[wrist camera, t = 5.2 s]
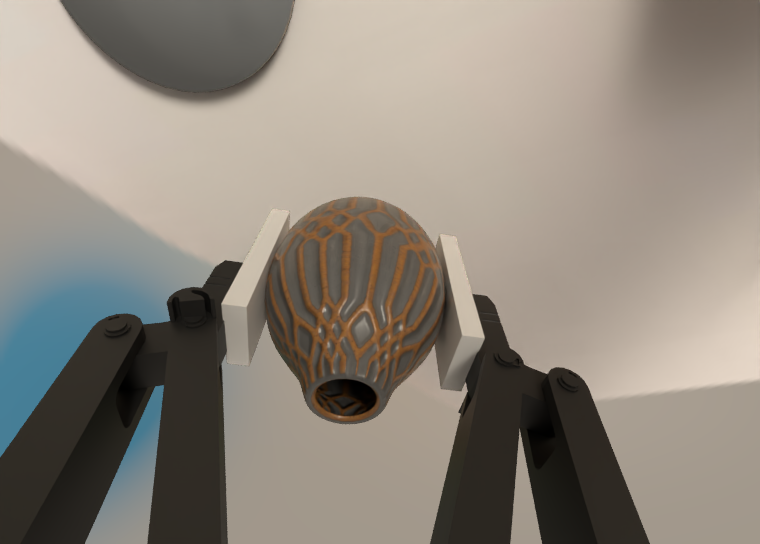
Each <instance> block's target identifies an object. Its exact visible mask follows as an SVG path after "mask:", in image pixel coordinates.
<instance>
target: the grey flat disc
mask: <svg viewBox="0 0 760 544" xmlns="http://www.w3.org/2000/svg"><path fill="white" fill-rule="evenodd" d="M61 2H62V4H63V5H64V7H65V8H66V10H67V11H68V12H69V14H70V15H71V16H72V18H73V19H74V20H75V21H76V23H77V24H78V25H79V26H80V28H81V29H82V30H83V31H84V32H85V33H86V34H87V35H88V36H89V38H90V39H91V40H92V41H93V42H94V43H95V44H96V45H98V46H99V47H100V48H101V49H102V50H103V51H104V52H105V53H106V54H107V55H109V56H110V57H111V58H113V59H114V60H115V61H116V62H118V63H119V64H120V65H122V66H123V67H125V68H126V69H128V70H130V71H131V72H133V73H134V74H136V75H138V76H140V77H142V78H144V79H146V80H148V81H150V82H153V83H155V84H158V85H161V86H163V87H166V88H171V89H175V90H179V91H186V92H211V91H217V90H222V89H225V88H228V87H231V86H233V85H236V84H238V83H240V82H241V81H243V80H245V79H247V78H249V77H250V76H252V75H253V74H254V73H256V72H257V71H258V70H260V69H261V68H262V67H263V66H264V65H265V64H266V63H267V62H268V60H269V59H270V58H271V57H272V56H273V54H274V53H275V51H276V50H277V48H278V47H279V45H280V43H281V41H282V39H283V37H284V35H285V33H286V31H287V28H288V25H289V22H290V19H291V16H292V11H293V7H294V2H295V0H61Z"/></svg>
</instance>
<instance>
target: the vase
mask: <svg viewBox="0 0 760 544" xmlns="http://www.w3.org/2000/svg"><path fill="white" fill-rule="evenodd" d="M444 308H445V282H444V276H443V271H442V267H441V263H440V260H439V257H438V255H437V252H436V249H435V247H434V245H433V243H432V242H431V240H430V238H429V237H428V235H427V234H426V232H425V231H424V230H423V229H422V227H421V226H420V225H419V224H418V223H417V222H416V221H415V220H414V219H413V218H412V217H411V216H409V215H408V214H407V213H406V212H404V211H403V210H401V209H399V208H398V207H396V206H394V205H392V204H389V203H387V202H384V201H381V200H378V199H373V198H367V197H348V198H342V199H337V200H333V201H330V202H328V203H325V204H323V205H321V206H319V207H317V208H315V209H314V210H312V211H310V212H309V213H307V214H306V215H305V216H303V217H302V218H301V219H300V220H299V221H298V222H297V223H296V224H295V225H294V226H293V227H292V228H291V229H290V230H289V232H288V233H287V234H286V236H285V237H284V239H283V241H282V242H281V244H280V245H279V247H278V249H277V251H276V253H275V255H274V258H273V260H272V263H271V266H270V269H269V272H268V277H267V282H266V290H265V309H266V318H267V324H268V328H269V332H270V335H271V338H272V340H273V343H274V344H275V347H276V349H277V350H278V352H279V354H280V355H281V357H282V358H283V360H284V361H285V363H286V364H287V366H288V367H289V368H290V370H291V371H292V372H293V374H294V375H295V376H296V377H297V379H298V380H299V382H300V384H301V388H302V391H303V395H304V398H305V401H306V403H307V406H308V407H309V408H310V410H311V411H312V412H313V413H315V414H316V415H317V416H319V417H321V418H323V419H325V420H328V421H331V422H335V423H339V424H357V423H362V422H366V421H369V420H371V419H373V418H375V417H376V416H378V415H379V414H380V413H381V412H382V411H383V410H384V408H385V407H386V405H387V403H388V401H389V399H390V397H391V395H392V393H393V391H394V390H395V389H396V388H397V387H398V386H399V385H400V384H401V383H402V382H403V381H404V380H406V379H407V378H408V377H409V376H410V375H411V374H412V373H413V372H414V371H415V370H416V369H417V368H418V367H419V366H420V365H421V364H422V362H423V361H424V360H425V358H426V357H427V356H428V354H429V353H430V351H431V349H432V347H433V345H434V343H435V341H436V339H437V336H438V333H439V330H440V327H441V323H442V319H443V314H444Z"/></svg>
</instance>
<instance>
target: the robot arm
mask: <svg viewBox="0 0 760 544" xmlns="http://www.w3.org/2000/svg"><path fill="white" fill-rule="evenodd" d="M289 220H290V211H286V210H279V209H272V211H271V212H270V214H269V216H268V218H267V220H266V222H265V224H264V225H263V227H262V229H261V231H260V233H259V235H258V237H257V238H256V240H255V242H254V244H253V246H252V248H251V250H250V251H249V253H248V255H247V257H246V259H245V261H244V263H240V262H233V261H226V260H225V261H224V262H222V263H221V264H219V265H218V266H216V267H215V268H214V270H213V272H212V273H211V275H210V277H209V278H208V279H207V281H206V283H205V284H204V286H203V287H202V288H198V287H191V288H185V289H181V290H179V291H177V292H175V293H174V294H173V295H171V296H170V297H169V299H168V301H167V306H168V311H169V316H170V321H168V322H163V323H154V324H144V325H143V324H142V322H141V319H140V318H138V317H137V316H135V315H131V314H116V315H113V316H109V317H106V318H105V319H102V320H101V321H99V322H98V323H97V324H96V325H95V326H94V327H93V328H92V329H91V330H90V332H89V333H88V335H87V336H86V338H85V339H84V340H83V342H82V343H81V345H80V346H79V347H78V349H77V350H76V352H75V353H74V354H73V356H72V357H71V359H70V360H69V362H68V363H67V364H66V366H65V367H64V369H63V370H62V371H61V373H60V374H59V376H58V377H57V378H56V380H55V381H54V383H53V384H52V385H51V387H50V388H49V390H48V391H47V392H46V394H45V395H44V397H43V398H42V399H41V401H40V402H39V404H38V405H37V407H36V408H35V409H34V411H33V412H32V414H31V415H30V416H29V418H28V419H27V421H26V422H25V423H24V425H23V426H22V428H21V429H20V431H19V432H18V434H17V435H16V437H15V438H14V439H13V441H12V442H11V443H10V445H9V446H8V447H7V449H6V450H5V452H4V453H3V455H2V456H1V457H0V544H85V541H86V539H87V537H88V535H89V533H90V530H91V528H92V526H93V524H94V522H95V519H96V517H97V515H98V513H99V510H100V508H101V506H102V504H103V501H104V499H105V497H106V495H107V493H108V490H109V488H110V486H111V484H112V481H113V479H114V477H115V475H116V473H117V470H118V468H119V466H120V463H121V461H122V459H123V457H124V455H125V452H126V450H127V448H128V446H129V444H130V441H131V439H132V437H133V435H134V432H135V430H136V428H137V425H138V423H139V421H140V419H141V417H142V414H143V412H144V410H145V408H146V406H147V403H148V401H149V399H150V397H151V394H152V392H153V390H154V388H155V386H160V385H164V392H163V401H162V411H161V420H160V430H159V439H158V448H157V458H156V467H155V477H154V486H153V496H152V505H151V515H150V524H149V534H148V544H228V538H227V508H226V476H225V445H224V413H223V386H222V385H223V382H222V365H221V363H222V361H223V359H224V356H225V355H226V358H227V364H235V365H244V366H249V365H250V363H251V360H252V357H253V354H254V352H255V349H256V346H257V344H258V341H259V338H260V336H261V333H262V330H263V327H264V325H265V322H266V320H267V318H266V309H265V290H266V282H267V277H268V272H269V269H270V266H271V263H272V260H273V258H274V255H275V253H276V251H277V249H278V247H279V245H280V244H281V242H282V241H283V239H284V237H285V236H286V234H287V233H288V232H289ZM435 249H436V252H437V255H438V257H439V260H440V263H441V267H442V271H443V276H444V282H445V308H444V314H443V319H442V323H441V327H440V330H439V333H438V336H437V339H436V341H435V350H436V357H437V364H438V371H439V379H440V386H441V389H446V390H455V391H462V388H463V386H464V384H465V382H466V385H467V389H468V392H467V395H466V397H465V399H464V401H463V403H462V405H461V408H460V410H459V413H461V416H460V420H459V424H458V428H457V432H456V436H455V441H454V445H453V449H452V453H451V458H450V462H449V466H448V471H447V474H446V479H445V483H444V487H443V491H442V496H441V500H440V504H439V509H438V513H437V517H436V521H435V525H434V530H433V534H432V539H431V542H430V544H510V539H511V527H512V515H513V502H514V489H515V477H516V464H517V451H518V440H519V428H520V432H521V437H522V442H523V447H524V453H525V457H526V463H527V468H528V473H529V478H530V483H531V488H532V494H533V498H534V504H535V509H536V514H537V519H538V524H539V530H540V535H541V540H542V544H650V543H649V540H648V538H647V535H646V533H645V530H644V528H643V525H642V523H641V520H640V518H639V515H638V512H637V510H636V508H635V505H634V502H633V500H632V497H631V495H630V492H629V490H628V487H627V485H626V482H625V480H624V477H623V475H622V472H621V469H620V467H619V464H618V462H617V460H616V457H615V454H614V452H613V449H612V447H611V444H610V442H609V439H608V437H607V434H606V432H605V429H604V427H603V424H602V421H601V419H600V416H599V414H598V411H597V409H596V406H595V404H594V401H593V399H592V396H591V394H590V391H589V388H588V386H587V385H586V383H585V381H584V380H583V379H582V378H581V377H580V376H579V375H577V374H576V373H574V372H572V371H571V370H568V369H565V368H559V367H556V368H553V369H551V370H550V371H549V373H548V374H545V373H542V372H540V371H537V370H535V369H532V368H530V367H528V366H526V365H524V362H523V360H522V358H521V357H520V355H519V354H517V353H516V352H515V351H514V350H512V349H510V347H509V345H508V342H507V339H506V336H505V333H504V330H503V327H502V325H501V323H500V319H499V316H498V313H497V310H496V307H495V305H494V304H493V303H492V301H491V300H490V299H489V298H488V297H487V296H482V295H475V294H472V292H471V288H470V285H469V281H468V278H467V274H466V271H465V267H464V264H463V260H462V257H461V253H460V250H459V246H458V243H457V239H456V236H450V235H444V234H439V238H438V241H437V245H436V248H435Z"/></svg>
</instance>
